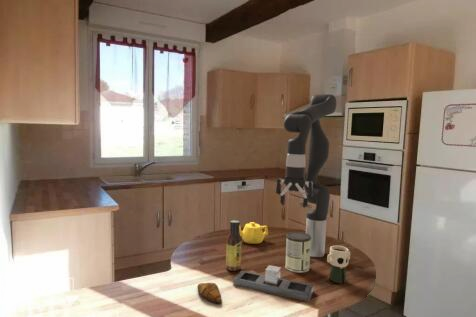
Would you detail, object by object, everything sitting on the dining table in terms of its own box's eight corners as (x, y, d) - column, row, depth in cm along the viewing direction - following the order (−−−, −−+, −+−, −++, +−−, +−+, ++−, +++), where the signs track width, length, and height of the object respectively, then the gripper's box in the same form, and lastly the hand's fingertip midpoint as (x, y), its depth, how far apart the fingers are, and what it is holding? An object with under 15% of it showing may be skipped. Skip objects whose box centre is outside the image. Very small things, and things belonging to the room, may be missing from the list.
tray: (241, 276, 131) (241, 270, 131) (313, 291, 121) (313, 285, 121) (233, 285, 124) (233, 278, 124) (309, 301, 113) (309, 294, 113)
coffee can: (287, 261, 149) (288, 230, 148) (310, 265, 145) (312, 233, 144) (282, 270, 139) (284, 237, 138) (307, 274, 136) (309, 240, 135)
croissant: (228, 302, 112) (229, 287, 111) (211, 308, 108) (212, 293, 107) (207, 286, 122) (207, 273, 122) (190, 291, 118) (191, 277, 118)
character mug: (332, 286, 125) (334, 253, 124) (320, 279, 132) (322, 246, 131) (354, 282, 130) (356, 250, 129) (342, 275, 136) (344, 244, 135)
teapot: (234, 241, 174) (234, 222, 173) (250, 235, 184) (250, 217, 184) (255, 247, 165) (255, 228, 164) (270, 241, 176) (271, 222, 175)
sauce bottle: (239, 272, 135) (240, 224, 134) (224, 270, 137) (225, 222, 135) (242, 266, 142) (243, 220, 140) (227, 264, 143) (229, 218, 141)
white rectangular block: (268, 283, 125) (269, 265, 125) (279, 285, 124) (280, 267, 123) (264, 288, 121) (265, 269, 121) (276, 290, 120) (277, 271, 119)
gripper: (315, 166, 132) (313, 206, 134) (280, 163, 138) (278, 202, 139) (312, 167, 126) (309, 210, 127) (275, 165, 131) (273, 205, 132)
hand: (293, 206), depth 133 cm, fingers open, 8 cm apart
